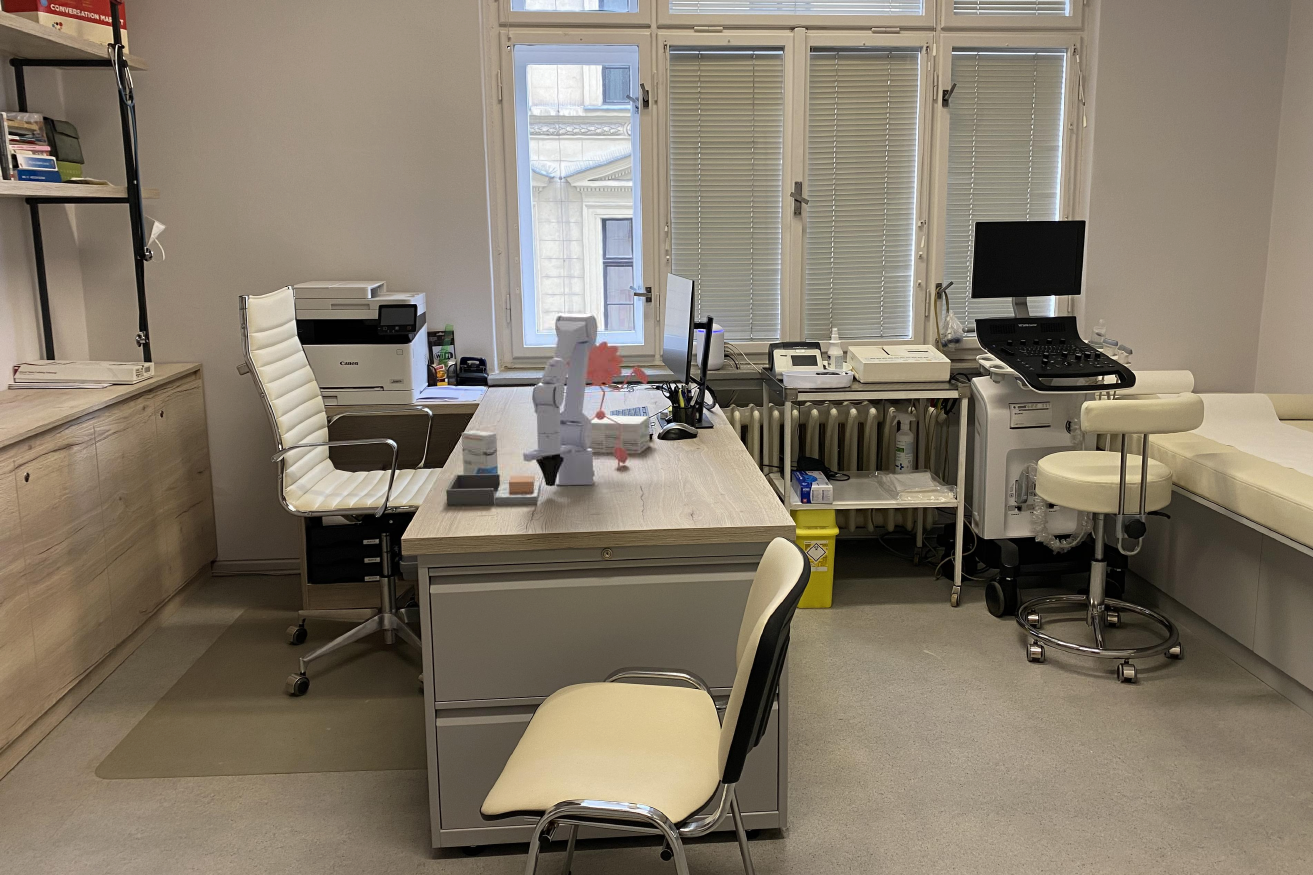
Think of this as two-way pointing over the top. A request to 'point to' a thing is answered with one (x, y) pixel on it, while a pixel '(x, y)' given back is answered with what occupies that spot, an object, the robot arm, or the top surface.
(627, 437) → the supplement box
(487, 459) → the ink box
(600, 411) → the figurine
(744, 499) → the top surface
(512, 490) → the tile
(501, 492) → the grey flat board
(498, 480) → the box
